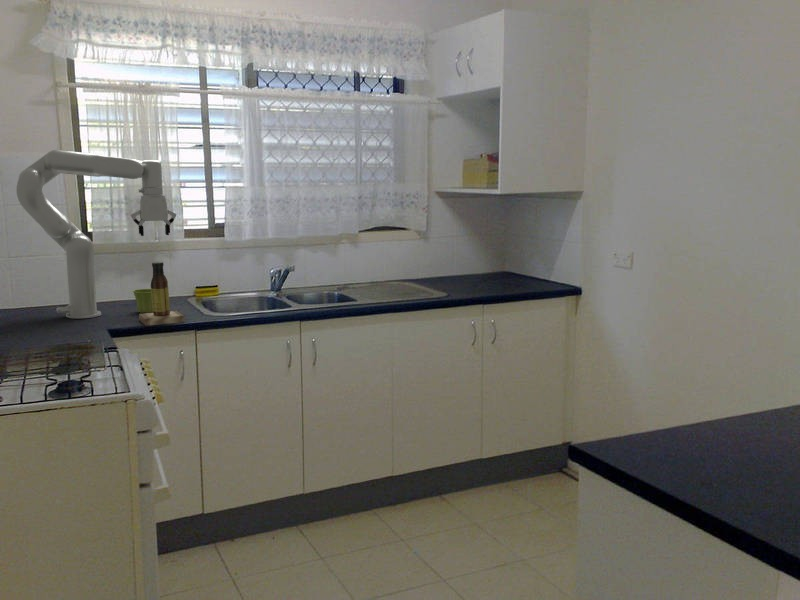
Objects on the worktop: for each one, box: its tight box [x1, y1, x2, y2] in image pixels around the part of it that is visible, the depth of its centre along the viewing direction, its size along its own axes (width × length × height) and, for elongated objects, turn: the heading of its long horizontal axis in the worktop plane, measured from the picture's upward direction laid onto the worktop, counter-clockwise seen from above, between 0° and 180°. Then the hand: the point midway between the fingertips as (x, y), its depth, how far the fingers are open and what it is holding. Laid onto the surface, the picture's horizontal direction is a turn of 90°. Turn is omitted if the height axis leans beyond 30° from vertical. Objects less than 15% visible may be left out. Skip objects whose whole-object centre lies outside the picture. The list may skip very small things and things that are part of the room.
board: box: [138, 310, 185, 327], centre depth 279 cm, size 14×11×2 cm
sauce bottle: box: [150, 261, 171, 316], centre depth 278 cm, size 7×6×20 cm
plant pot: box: [132, 288, 153, 314], centre depth 298 cm, size 9×9×9 cm
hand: (154, 235), depth 296 cm, fingers open, 9 cm apart
